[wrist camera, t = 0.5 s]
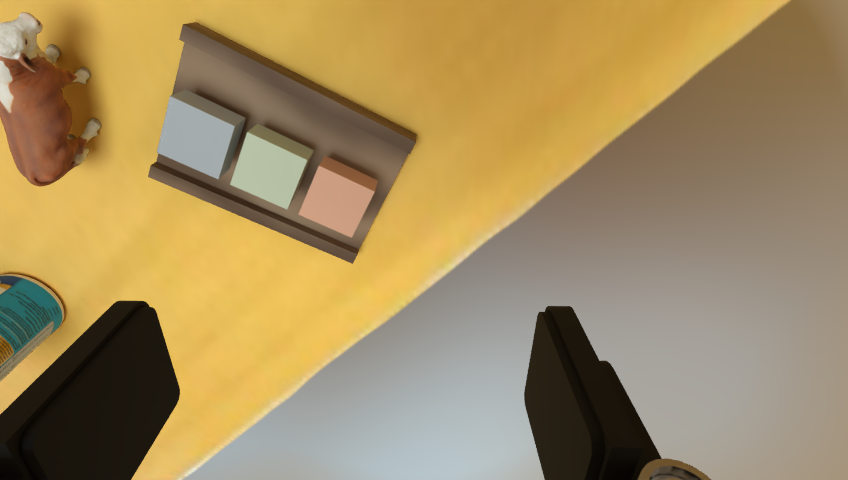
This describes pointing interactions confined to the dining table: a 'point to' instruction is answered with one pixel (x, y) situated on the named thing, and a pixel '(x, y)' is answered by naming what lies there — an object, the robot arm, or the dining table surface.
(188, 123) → the key slate
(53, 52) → the bull figurine
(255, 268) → the dining table surface
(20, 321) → the beverage bottle
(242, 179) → the key sage
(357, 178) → the key terracotta
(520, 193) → the dining table surface
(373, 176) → the key board
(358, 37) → the dining table surface
